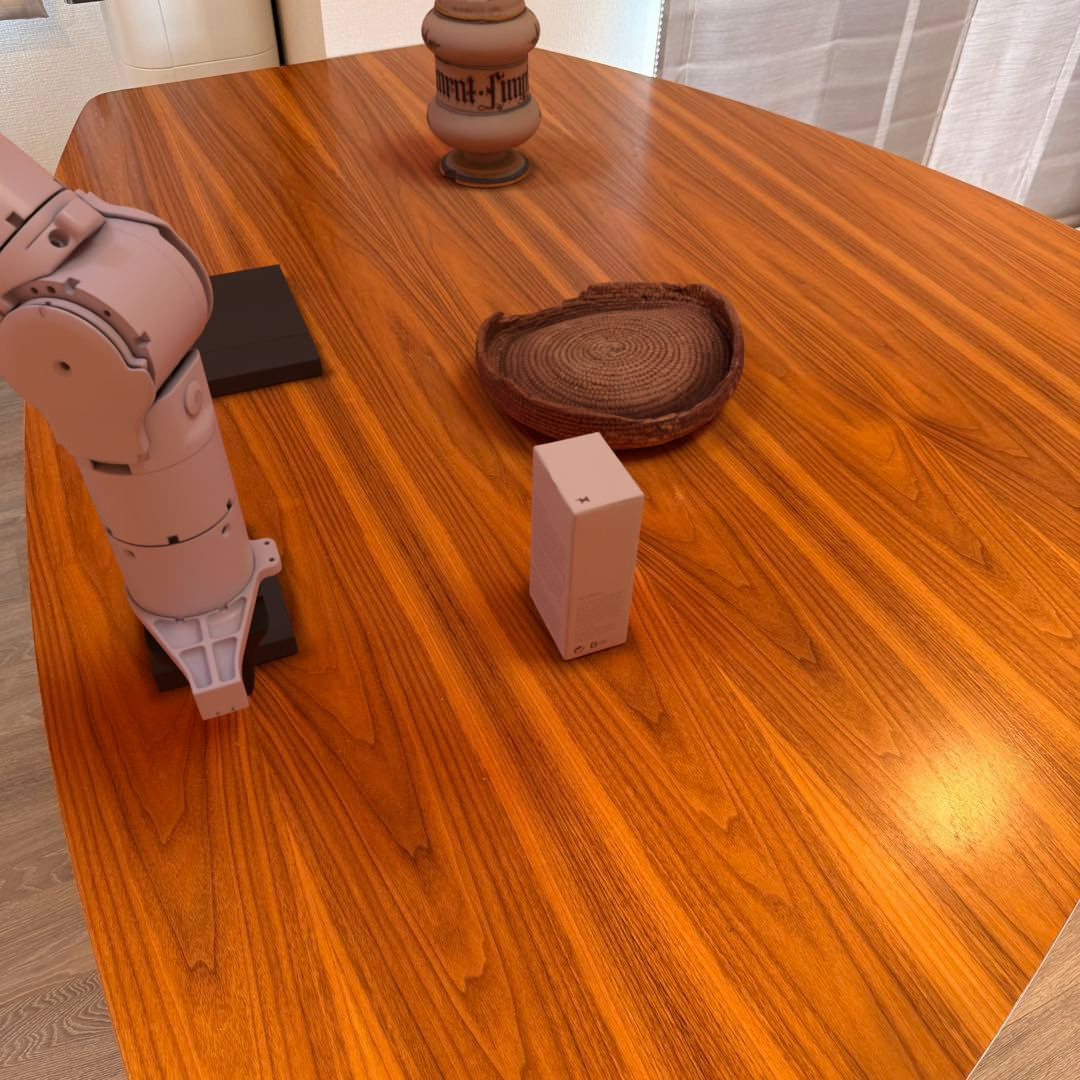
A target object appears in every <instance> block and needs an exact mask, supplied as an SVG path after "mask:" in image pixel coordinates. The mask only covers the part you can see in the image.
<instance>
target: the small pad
mask: <svg viewBox="0 0 1080 1080" xmlns="http://www.w3.org/2000/svg"><path fill="white" fill-rule="evenodd" d="M260 586H261V589H260V591H259V594H258V596H261V595H263V597H264V601H265V604H266V608H267V611H268V615H269V625H268V632H267V634H266V635H265V636H264V637H263V639H262V640H261V642H260V644H259V646H258V649H257V652H256V656H255V666H257V665H261V664H264V663H267V662H270V661H274V660H278V659H282V658H285V657H287V656H288V657H289V656H291V655H295V654H298V653H299V646H298V642H297V640H296V634H295V631H294V628H293V624H292V622H291V619H290V614H289V612H288V608H287V604H286V602H285V599H284V595H283V591H282V588H281V585H280V581H279V578H278V574H275V575H273V576H269V577H266V578H264V579H263V580H262V581H261V582H260ZM258 596H257V597H258ZM148 655H149V663H150V668H151V673H152V677H153V680H154V683H155V684H156V687H157V690H158V691H159V692H160V693H162V692H166V691H170V690H174V689H177V688H180V687H183V686H187V685H190V683H189V681H188V680H187V678H186V677H185V675H184V674H183V672H181V671H179V670H177V669H175V668H173V667H170V666H167V665H163V664H159V663H158V662H157V661H156V660H155V659H154V658H153V657H152V655H151V654H150V652H149V651H148Z"/></svg>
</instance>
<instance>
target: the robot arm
mask: <svg viewBox="0 0 1080 1080" xmlns="http://www.w3.org/2000/svg"><path fill="white" fill-rule="evenodd" d="M209 276H210V275H209V274H208V272H207V270H206V268H205V266H204V264H203V263H202V261H201V259H200V258H199V257H198V255H197V254H196V252H195V251H194V250H193V249H192V247H191V246H189V244H188V243H187V242H186V241H184V239H182V237H180V235H178V233H177V232H176V230H175V229H174V227H173V226H172V225H171V224H170V223H169V222H167V221H166V220H163V219H162V218H161V217H158V216H156V215H154V214H152V213H149V212H147V211H145V210H142V209H139V208H136V207H131V206H125V205H117V204H111V203H109V202H107V201H104V200H103V199H102V198H100V197H98V196H97V195H96V194H95V193H93V192H92V191H88V192H87V193H86V192H85V191H83V190H82V189H80V188H77V189H76V190H74V191H73V190H72V189H69V187H68V186H67V185H65V184H64V183H63V182H62V181H61V180H59V179H58V178H57V177H56V176H55V175H53V174H52V173H51V172H50V171H48V170H47V169H46V168H45V167H44V166H42V165H41V164H40V163H38V162H37V161H36V160H35V159H34V158H32V157H31V156H30V155H29V154H27V153H26V152H25V151H24V150H22V148H20V147H19V146H18V145H17V144H16V143H14V142H13V141H11V140H10V139H9V138H8V137H7V136H5V135H4V134H3V133H2V132H0V376H1V377H2V378H3V380H4V381H5V383H7V384H8V386H9V387H10V388H11V389H12V390H14V392H15V393H16V394H17V395H19V396H20V398H22V399H23V400H24V401H26V402H27V403H28V404H29V405H31V406H32V407H33V408H34V409H35V410H37V412H39V413H40V415H41V416H42V417H43V418H44V419H45V421H46V422H47V424H48V426H49V428H50V430H51V432H52V436H53V438H54V439H55V441H56V444H57V445H59V446H62V447H64V448H65V451H66V452H67V453H68V455H70V456H71V457H73V458H74V460H75V463H76V465H77V468H78V470H79V472H80V475H81V477H82V479H83V482H84V485H85V487H86V489H87V492H88V495H89V497H90V499H91V501H92V504H93V507H94V509H95V511H96V514H97V516H98V519H99V521H100V524H101V526H102V529H103V531H104V534H105V536H106V539H107V541H108V543H109V546H110V549H111V550H112V553H113V555H114V558H115V561H116V563H117V565H118V568H119V570H120V572H121V575H122V578H123V591H124V594H125V598H126V601H127V602H128V605H129V607H130V609H131V610H132V612H133V613H134V615H135V616H136V617H137V618H138V620H140V621H139V622H141V624H142V628H143V634H144V639H145V644H146V648H147V650H148V653H149V652H150V654H151V655H152V657H153V658H154V659H155V660H156V661H157V662H158V663H159V664H163V665H167V666H170V667H173V668H175V669H177V670H179V671H181V672H183V674H184V675H185V677H186V678H187V680H188V681H189V683H190V684H189V685H190V689H191V692H192V696H193V698H194V701H195V704H196V706H197V710H198V712H199V714H200V716H201V719H202V720H203V721H206V720H209V719H213V718H217V717H221V716H224V715H229V714H231V713H234V712H237V711H240V710H243V709H247V708H249V707H250V703H249V698H248V697H249V696H251V695H253V693H254V689H255V681H256V680H255V679H256V665H255V656H256V652H257V649H258V646H259V644H260V642H261V640H262V639H263V637H264V636H265V635H266V634H267V632H268V625H269V615H268V611H267V608H266V604H265V601H264V597H263V595H261V596H258V594H259V591H260V589H261V586H260V582H261V581H262V580H263V579H264V578H266V577H269V576H273V575H275V574H276V575H278V574H279V573H280V572H281V571H282V569H283V564H282V560H281V557H280V553H279V549H278V546H277V543H276V541H275V540H274V539H272V538H270V537H263V538H258V539H250V537H249V534H248V532H247V527H246V526H247V525H246V522H245V519H244V515H243V512H242V508H241V504H240V501H239V497H238V493H237V489H236V486H235V482H234V481H235V480H234V478H233V475H232V470H231V465H230V462H229V460H228V459H229V458H228V456H227V452H226V448H225V443H224V441H223V436H222V433H221V429H220V426H219V422H218V418H217V413H216V410H215V406H214V402H213V397H212V398H211V394H210V391H209V387H208V383H207V379H206V376H205V372H204V368H203V364H202V361H201V357H200V353H199V351H198V350H197V349H195V348H192V349H190V348H191V346H192V345H193V344H194V342H195V341H196V340H197V339H198V337H199V336H200V335H201V333H202V331H203V330H204V327H205V325H206V323H207V322H208V320H209V318H210V316H211V313H212V309H213V291H212V286H211V282H210V279H209ZM257 596H258V597H257Z"/></svg>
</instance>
